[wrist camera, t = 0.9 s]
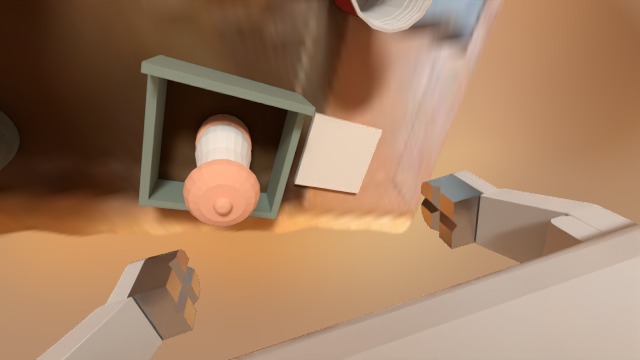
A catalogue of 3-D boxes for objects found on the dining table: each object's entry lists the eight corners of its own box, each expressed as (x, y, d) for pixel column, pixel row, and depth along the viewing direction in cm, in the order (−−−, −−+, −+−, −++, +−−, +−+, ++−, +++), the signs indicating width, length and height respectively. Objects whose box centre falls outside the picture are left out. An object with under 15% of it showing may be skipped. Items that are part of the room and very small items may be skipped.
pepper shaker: (259, 147, 43) (278, 217, 27) (216, 169, 43) (210, 254, 27) (233, 104, 40) (237, 156, 23) (186, 129, 39) (157, 198, 23)
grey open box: (149, 183, 41) (131, 218, 34) (160, 54, 35) (141, 61, 27) (270, 199, 48) (278, 231, 40) (299, 93, 41) (315, 108, 34)
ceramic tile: (293, 181, 48) (294, 183, 47) (314, 111, 43) (315, 113, 43) (355, 190, 52) (357, 193, 51) (379, 129, 48) (382, 130, 47)
